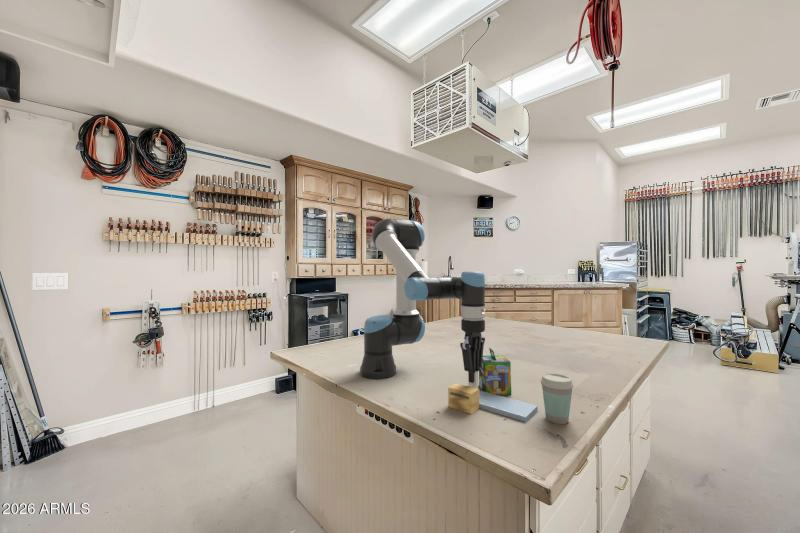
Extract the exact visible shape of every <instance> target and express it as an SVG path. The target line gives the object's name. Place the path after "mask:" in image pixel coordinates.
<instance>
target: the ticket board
mask: <svg viewBox="0 0 800 533" xmlns="http://www.w3.org/2000/svg"><path fill="white" fill-rule="evenodd" d="M538 407H539V406H538V405H536V404H533V403H528V402H524V401H521V400H517V399H514V398H513V399H512V398H510V397H505V396H501V395H495V394H491V393H487V392H484V391H482V390H481V389H479V409H482V410H486V411H488V412H491V413H495V414H497V415H501V416H505V417H508V418H510V419H514V420H517V421H521V422H524V423H527V422H528V421H529V420H530V419H531V417H532V416H534V415H535V414H536V412H538V410H539V408H538Z"/></svg>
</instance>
